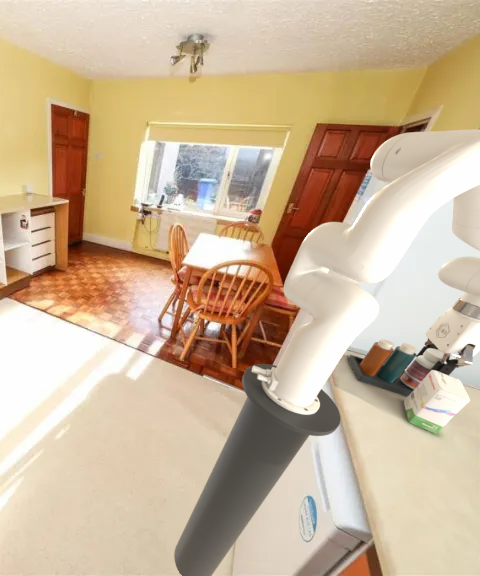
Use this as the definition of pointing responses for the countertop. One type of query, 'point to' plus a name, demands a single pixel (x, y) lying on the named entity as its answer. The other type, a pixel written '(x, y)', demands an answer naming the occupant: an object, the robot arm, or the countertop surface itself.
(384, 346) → the amber bottle
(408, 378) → the pill bottle
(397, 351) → the teal bottle
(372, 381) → the tray
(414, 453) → the countertop surface
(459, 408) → the ink box
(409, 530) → the countertop surface
